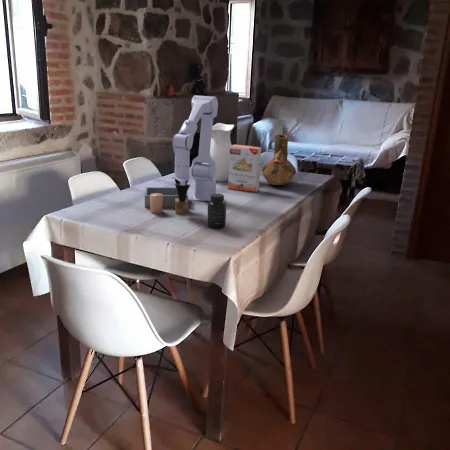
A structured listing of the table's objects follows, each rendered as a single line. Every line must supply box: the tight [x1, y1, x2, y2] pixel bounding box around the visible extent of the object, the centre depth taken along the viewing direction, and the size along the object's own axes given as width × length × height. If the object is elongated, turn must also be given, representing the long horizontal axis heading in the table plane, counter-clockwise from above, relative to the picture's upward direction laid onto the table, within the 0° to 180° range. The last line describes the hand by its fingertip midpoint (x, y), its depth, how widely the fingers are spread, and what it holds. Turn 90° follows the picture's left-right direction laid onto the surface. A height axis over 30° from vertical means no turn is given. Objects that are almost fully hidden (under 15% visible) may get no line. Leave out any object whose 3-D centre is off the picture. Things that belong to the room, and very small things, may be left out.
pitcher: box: [201, 122, 235, 182], centre depth 242 cm, size 24×17×28 cm
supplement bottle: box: [206, 193, 227, 230], centre depth 176 cm, size 7×7×12 cm
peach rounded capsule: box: [149, 193, 164, 215], centre depth 191 cm, size 5×5×7 cm
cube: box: [174, 197, 189, 215], centre depth 192 cm, size 5×5×5 cm
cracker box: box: [227, 144, 262, 193], centre depth 227 cm, size 14×6×21 cm, turn 68°
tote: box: [144, 186, 189, 209], centre depth 203 cm, size 18×14×5 cm
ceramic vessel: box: [261, 134, 297, 186], centre depth 238 cm, size 17×26×25 cm, turn 171°
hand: (181, 198), depth 191 cm, fingers open, 7 cm apart
